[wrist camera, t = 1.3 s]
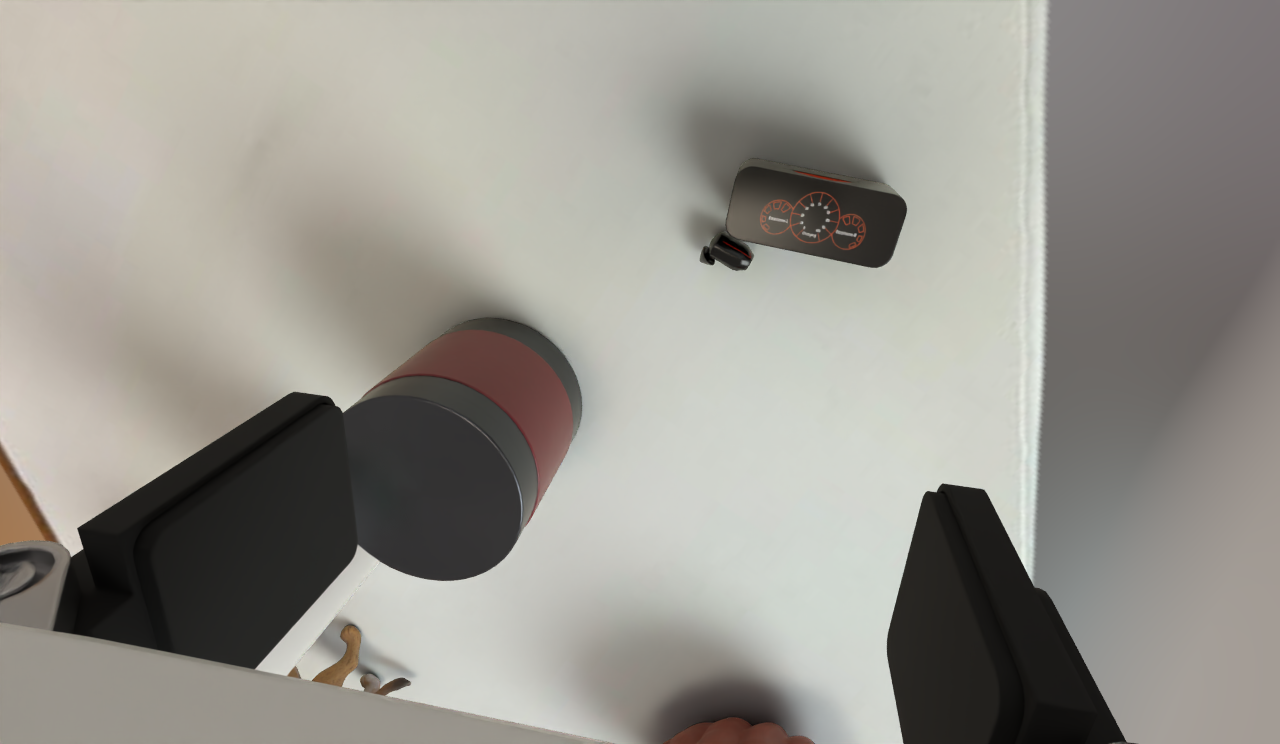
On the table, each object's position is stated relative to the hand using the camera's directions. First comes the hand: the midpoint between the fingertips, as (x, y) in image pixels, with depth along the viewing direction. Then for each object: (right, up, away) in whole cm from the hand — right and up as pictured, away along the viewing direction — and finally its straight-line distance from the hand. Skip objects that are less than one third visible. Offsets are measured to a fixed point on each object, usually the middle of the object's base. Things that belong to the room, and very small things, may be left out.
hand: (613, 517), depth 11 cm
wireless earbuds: (+7, +9, +18) cm, 22 cm away
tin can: (-7, +1, +24) cm, 25 cm away
